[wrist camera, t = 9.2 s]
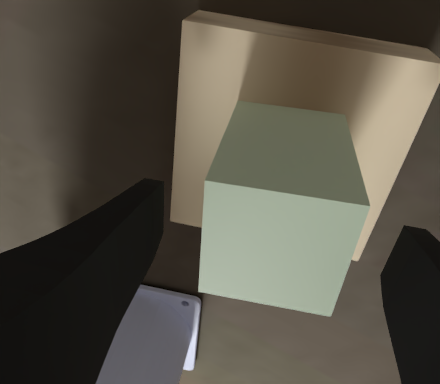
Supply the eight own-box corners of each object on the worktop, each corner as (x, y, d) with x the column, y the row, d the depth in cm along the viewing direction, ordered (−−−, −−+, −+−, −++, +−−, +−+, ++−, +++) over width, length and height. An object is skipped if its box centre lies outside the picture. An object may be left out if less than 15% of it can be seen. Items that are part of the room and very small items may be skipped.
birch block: (185, 187, 21) (169, 221, 18) (201, 8, 16) (182, 20, 13) (351, 222, 20) (357, 260, 17) (423, 45, 15) (447, 65, 12)
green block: (228, 188, 16) (198, 291, 12) (237, 100, 14) (205, 180, 9) (321, 203, 16) (331, 316, 11) (345, 114, 14) (370, 206, 9)
